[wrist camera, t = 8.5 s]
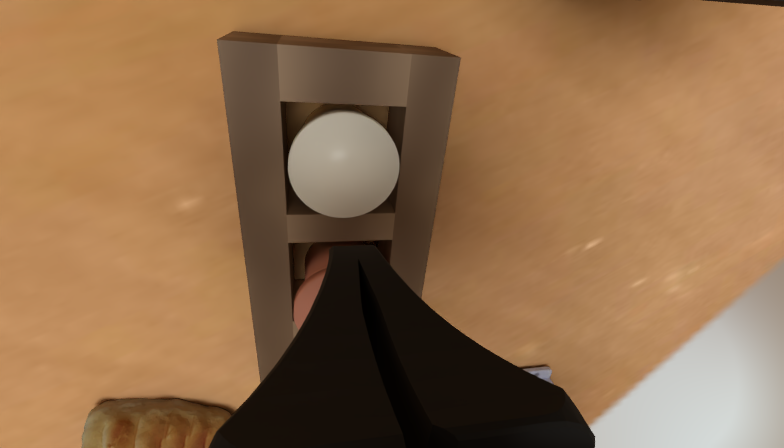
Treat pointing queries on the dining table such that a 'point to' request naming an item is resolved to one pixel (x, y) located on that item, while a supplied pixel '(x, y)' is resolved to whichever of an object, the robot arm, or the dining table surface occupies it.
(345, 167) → the cream plug
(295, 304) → the red plug
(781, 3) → the olive oil
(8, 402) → the dining table surface
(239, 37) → the plug block
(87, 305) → the dining table surface
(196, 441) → the pastry
